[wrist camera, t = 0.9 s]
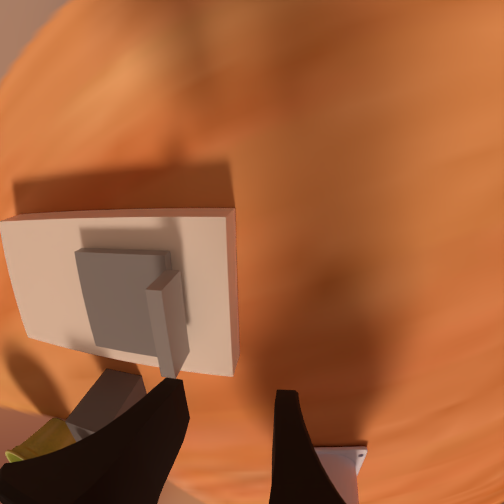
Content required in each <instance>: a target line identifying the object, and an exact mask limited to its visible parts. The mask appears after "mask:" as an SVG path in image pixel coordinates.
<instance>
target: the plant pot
mask: <svg viewBox="0 0 504 504" xmlns="http://www.w3.org/2000/svg"><path fill="white" fill-rule="evenodd" d="M73 443H76V441H75V439H74V437H73V435H72V434H71V432H70V430H69V428H68V426H67V424H66V422H65V421H63V420H61V419H58V418H52V419H51V420H49V421H48V422H47V423H46V424H45V425H44V426H43V427H41V428H40V429H39V430H38V431H37V432H35V433H34V434H33V435H32V436H31V437H30V438H28V439H27V440H26V441H25V442H23V443H22V444H21V445H19V446H16V447H15V448H13V449H12V450H7V451H6V452H5V455H6V457H7V459H8V460H9V462H10V463H11V462H16V461H22V460H27V459H31V458H35V457H39V456H42V455H45V454H48V453H51V452H54V451H57V450H60V449H62V448H64V447H67V446H69V445H71V444H73Z"/></svg>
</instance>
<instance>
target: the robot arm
mask: <svg viewBox="0 0 504 504" xmlns="http://www.w3.org/2000/svg"><path fill="white" fill-rule="evenodd" d="M189 419H190V416H189V411H188V406H187V401H186V396H185V391H184V385H183V380H180V379H173V378H165V379H164V380H163V381H162V382H160V383H159V384H158V385H157V386H156V387H155V388H153V389H152V390H151V391H150V392H149V393H148V394H146V395H145V396H144V397H143V398H142V399H141V400H139V401H138V402H137V403H136V404H134V405H133V406H132V407H131V408H129V409H128V410H127V411H126V412H124V413H123V414H122V415H120V416H119V417H117V418H116V419H115V420H113V421H112V422H110V423H109V424H107V425H106V426H105V427H103V428H101V429H100V430H98V431H97V432H95V433H93V434H91V435H89V436H88V437H86V438H84V439H82V440H80V441H78V442H76V443H73V444H71V445H69V446H67V447H64V448H62V449H60V450H57V451H54V452H51V453H48V454H45V455H42V456H39V457H35V458H31V459H27V460H22V461H16V462H11V463H5V464H4V465H3V466H2V468H1V469H0V502H1V503H2V504H157V503H158V499H159V496H160V493H161V491H162V488H163V486H164V483H165V481H166V479H167V477H168V475H169V472H170V470H171V468H172V466H173V464H174V461H175V459H176V457H177V455H178V452H179V450H180V448H181V445H182V443H183V441H184V437H185V434H186V430H187V427H188V423H189ZM366 454H367V447H365V446H359V447H313V444H312V442H311V439H310V437H309V434H308V431H307V429H306V426H305V423H304V420H303V416H302V412H301V408H300V404H299V397H298V392H296V391H295V390H277V393H276V399H275V409H274V429H273V448H272V486H271V493H270V499H269V504H359V500H358V487H357V475H358V473H359V470H360V468H361V466H362V463H363V461H364V459H365V456H366Z"/></svg>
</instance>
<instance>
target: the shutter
mask: <svg viewBox="0 0 504 504" xmlns="http://www.w3.org/2000/svg"><path fill="white" fill-rule="evenodd" d="M74 253H75V259H76V265H77V270H78V275H79V280H80V285H81V289H82V294H83V298H84V303H85V307H86V311H87V315H88V319H89V323H90V327H91V331H92V334H93V338H94V341H95V345H96V346H99V347H103V348H108V349H113V350H119V351H124V352H130V353H135V354H141V355H147V356H153V357H157V358H158V363H159V368H160V372H161V376H162V377H168V378H175V379H176V377H177V375H178V373H179V371H180V369H181V368H182V366H183V364H184V362H185V360H186V358H187V356H188V354H189V352H190V349H189V342H188V334H187V326H186V318H185V309H184V300H183V291H182V281H181V271H180V270H172V264H171V253H170V251H164V250H134V249H104V248H80V249H79V250H77V251H75V252H74Z"/></svg>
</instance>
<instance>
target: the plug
mask: <svg viewBox="0 0 504 504" xmlns="http://www.w3.org/2000/svg"><path fill="white" fill-rule="evenodd" d="M145 395H146V390H145V386H144V383H143V379H142V376H140V375H135V374H130V373H125V372H120V371H116V370H111V369H106V370H105V371H104V372H103V374H102V375H101V376H100V377H99V379H98V380H97V381H96V382H95V384H94V385H93V386H92V387H91V389H90V390H89V391H88V392H87V394H86V395H85V396H84V397H83V399H82V400H81V401H80V403H79V404H78V405H77V406H76V408H75V409H74V410H73V411H72V413H71V414H70V415H69V417H68V418H67V419H66V421H65V422H66V424H67V426H68V428H69V430H70V432H71V434H72V435H73V437H74V439H75V441H76V442H78V441H80V440H82V439H84V438H86V437H88V436H89V435H91V434H93V433H95V432H97V431H98V430H100V429H101V428H103V427H105V426H106V425H107V424H109V423H110V422H112V421H113V420H115V419H116V418H117V417H119V416H120V415H122V414H123V413H124V412H126V411H127V410H128V409H129V408H131V407H132V406H133V405H134V404H136V403H137V402H138V401H139V400H141V399H142V398H143V397H144V396H145Z"/></svg>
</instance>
